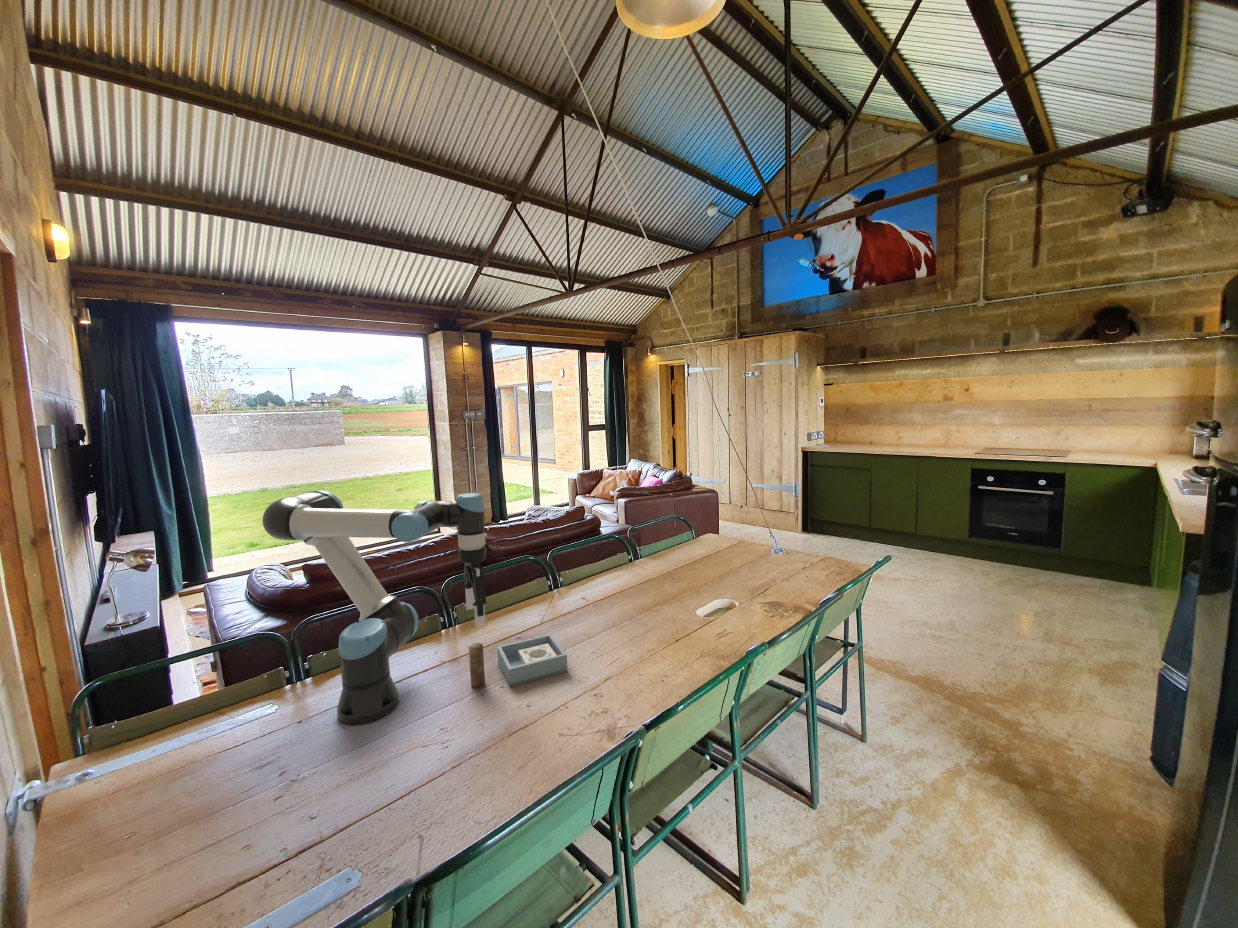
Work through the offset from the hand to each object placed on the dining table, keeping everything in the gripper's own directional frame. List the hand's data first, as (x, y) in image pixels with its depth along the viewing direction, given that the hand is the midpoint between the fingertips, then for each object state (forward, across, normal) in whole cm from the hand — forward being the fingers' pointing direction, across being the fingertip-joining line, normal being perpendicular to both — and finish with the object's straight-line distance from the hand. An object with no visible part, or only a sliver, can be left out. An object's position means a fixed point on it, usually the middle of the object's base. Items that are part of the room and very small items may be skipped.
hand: (475, 616), depth 142 cm
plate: (+20, 0, -19) cm, 28 cm away
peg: (+20, -1, 0) cm, 21 cm away
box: (+20, 0, -17) cm, 26 cm away
